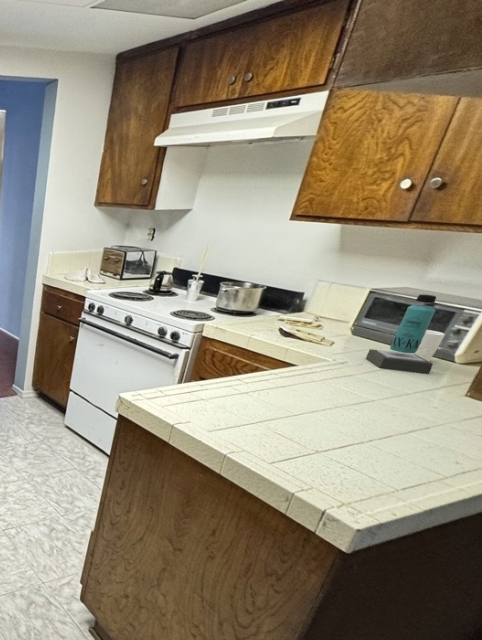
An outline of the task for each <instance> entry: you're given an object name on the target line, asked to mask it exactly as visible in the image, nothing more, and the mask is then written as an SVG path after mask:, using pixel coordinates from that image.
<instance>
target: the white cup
mask: <svg viewBox="0 0 482 640" xmlns="http://www.w3.org/2000/svg"><path fill="white" fill-rule="evenodd" d="M445 336H446V334H445V333H444V332H441V331H438V330H437V331H436V330H431V329H427V330H426V332H425V334H424V337H423V340H422V341H421V344H420V345H419V347H418V351H416V352H415V353H411V354H416V355H418V356H420V357H421V358H423V359H425V360H427V361H429V362H431V360H432V358H433V356H434V355H435V353H436V352H437V350H438V348H439V346H440V345H441V343H442V341H443V339H444V338H445Z"/></svg>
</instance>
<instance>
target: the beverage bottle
mask: <svg viewBox="0 0 482 640" xmlns="http://www.w3.org/2000/svg"><path fill="white" fill-rule="evenodd" d="M436 300H437V296H436V295H432V294H418V295H417V298H416V300H415V301H416V302H420V303H429V304H434V303H436ZM435 309H436V308H434V307H433V306H431V305H425V304H412V305H409V306H408V307H407V309H406V311H405V313H404V316H403V318H402V320H401V321H400V324H399V326H398V328H397V330H396V332H395V335H394V337H393V339H392V340H391V342H390V345H389V349H390V351H393V352H402V353H415V352H416V351H418V347H419V345H420V344H421V341H422V340H423V337H424V334H425V332H426V330H428V329H429V325H430V324H431V321H432V319H433V317H434V315H435V313H436V310H435Z"/></svg>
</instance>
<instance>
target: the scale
mask: <svg viewBox="0 0 482 640" xmlns="http://www.w3.org/2000/svg"><path fill="white" fill-rule="evenodd" d="M377 350H378V349H372V348H369V350H368V353H367V354H366V357H365V360H367V361H368V362H370V363H371V364H373V365H374V366H376V367H377V368H379V369H382V370H389V371H390V370H391V371H400V372H407V373H415V372H416V374H424V375H430V372H431V370H432V367H433V365H434V363H433V362H431V361H430V362H429V361H427V360H425V359H423V358H421V357H420V356H418V355H416V354H414V355H416V356H417V357H419V358H421V359H423V360H425V362H420V361H411V360H402V359H393V358H387V357H385V356H383V355H382V354H380V353H379V352H377Z"/></svg>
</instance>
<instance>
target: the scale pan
mask: <svg viewBox="0 0 482 640" xmlns="http://www.w3.org/2000/svg"><path fill="white" fill-rule="evenodd" d="M376 350H377V352H379V353H380V354H382V355H383V356H385V357H387V358H393V359H402V360H411V361H420V362H425V360H423V359H421V358H419V357H417V356H416V355H414V354H411V353H403V352H397V351H393V350H383V349H376Z"/></svg>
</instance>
